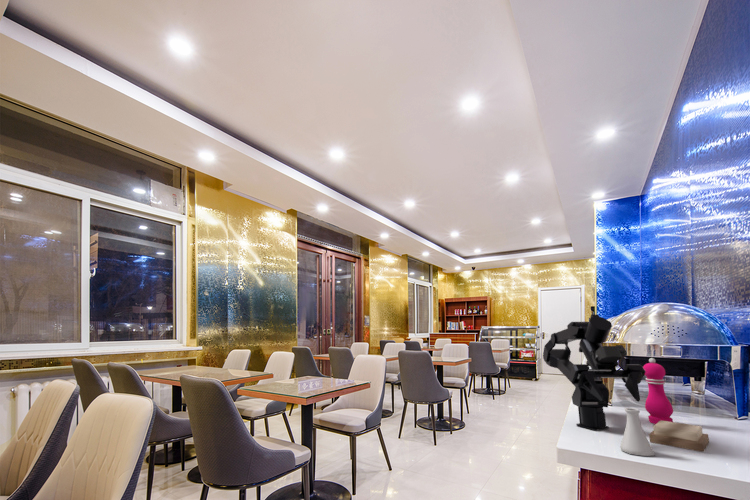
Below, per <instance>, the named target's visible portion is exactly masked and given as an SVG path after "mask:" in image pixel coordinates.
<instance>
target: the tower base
mask: <svg viewBox="0 0 750 500" xmlns="http://www.w3.org/2000/svg"><path fill="white" fill-rule="evenodd" d="M652 428H653V430H652V431H651V432H650V433H649V434H648V437H649V439H648V440H649V443H650V444H651V443H652V444H658V445H662V446H663V445H664V446H669V447H674V448H679V449H686V450H691V451H697V452H702V453H704V452H705V450H706V449H707V448H708V445H709V444H710V438H709V434H708V433H703V426H701V425H693V424H689V423H687V424H686V423H683V422H682V423H680V422H674V421H673V422H668V421H661V420H660V421H659V422H658V423H657V424H653V427H652Z"/></svg>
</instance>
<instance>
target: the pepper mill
mask: <svg viewBox="0 0 750 500" xmlns="http://www.w3.org/2000/svg"><path fill="white" fill-rule="evenodd" d="M642 367H643V368H644V369H645V371H646V372H645V374H644V376H645V377H646V378H645V383H646V384H647V386H648V393H647V397H646V399H645V403H644V405H645V407H644V409H645V411H646V412H647V413H648V414H649V415H648V422H649V423H650V424H652V425H655V424H657V423H658V422H659V421H660V420H661V421H668V422H674V420H673V418H672V417H671V416H672V415H673V413H674V408H673V405H672V403H671V401H670V400H669V399H668V397H667V395H666V392H665V389H664V386H665V383H666V382H665V379H664V377H665V376H666V369H665V368H664V366H663V365H661V364H659V363H657V362H656V359H655V358H653V357H651V358H649V359H648V363H647V362H646V363H645V364H644V365H643V366H642Z"/></svg>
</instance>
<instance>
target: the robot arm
mask: <svg viewBox="0 0 750 500" xmlns="http://www.w3.org/2000/svg"><path fill="white" fill-rule="evenodd" d="M566 327H567V328H564V329H562V330H560V331H558V332H553V333H551V334H550V339H549V340H548V341H547V343H545V344H544V348H543V354H542V359H543V362H545V364H546V365H548V366H549V367H551V368H555V369H558V370H559V371H560V372H561V374H562V375H564V377H566V379H567V380H568V381H570V383H571V384H572V385H573V387H574V390H573V392H572V395H571V401H572V404H573V405H575V406H577V409H578V419H579V421H578V422H579V423H576V424H575V425H576V426H577V427H579V428H580V427H581V428H585V429H588V430H591V431H602V430H607V429H609V428H610V427H609V425H607V420H606V414H605V412H604V408H609V399H610V398H609V397H610V391H609V389H608V388H607V386H606V385H605V383H603V380H601V379H621V380H622V382H623V383H625V384H624V387H625V388H626V389H627V391H628V392H629V393H630V395H631V396H632V397H633V399H634V400H635V401H636V402H638V403H639V402H640V400H641V398H640V390H639V384H641V382H642V381H643V378H644V376H645V375H644V374H645V372H646V371H645V369H644V368H643V366H642V364H638V363H637V364H636V363H635V364H630V363H629V364H628V363H627V364H625V366H624V367H623V369H616V367H618V365H619V362H618V361H620V359H624V358H625V357H626V356H627V355H628V353H627V350H626V348H625V347H624V345H622V344H616V345H602V344H604V343H606V342H607V340H608V337H609V334H610V332H611V329H612V327H613V323H611V321H610V320H608V319H606V318H604V317H601V316H600V315H599V314H591V315H590V317H589V321H571V322H569V323H568V324H567V325H566ZM579 340H580V341H579ZM574 341H579V344H578V345H579V348H578V352H579V353H583V355H584V357H585V359H586V362H585V363H582V364H581V363H580V364H579V363H577V364H576V363H573V362H572V361H571V360H570V358H571V354H572V351H571V348H570V347H569V343H572V342H574ZM556 345H565V348H555V347H556ZM600 378H601V379H600Z"/></svg>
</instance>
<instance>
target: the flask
mask: <svg viewBox="0 0 750 500" xmlns="http://www.w3.org/2000/svg"><path fill="white" fill-rule="evenodd" d="M624 411H625V412H626V425H625V429H624V432H623V436H622V440H621V443H620V450H621V451H622V452H625V453H627V454H630V455H637V456H642V457H647V456H648V457H649V456H650V457H651V456H655V455H656V454H655V452H654V450H653V448H652V446H651V442H650V440H649V439H648V437H647V435H646V434H645V431H644V428H643V426H642V423H641V420H640V409H638V408H633V407H625V408H624Z"/></svg>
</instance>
